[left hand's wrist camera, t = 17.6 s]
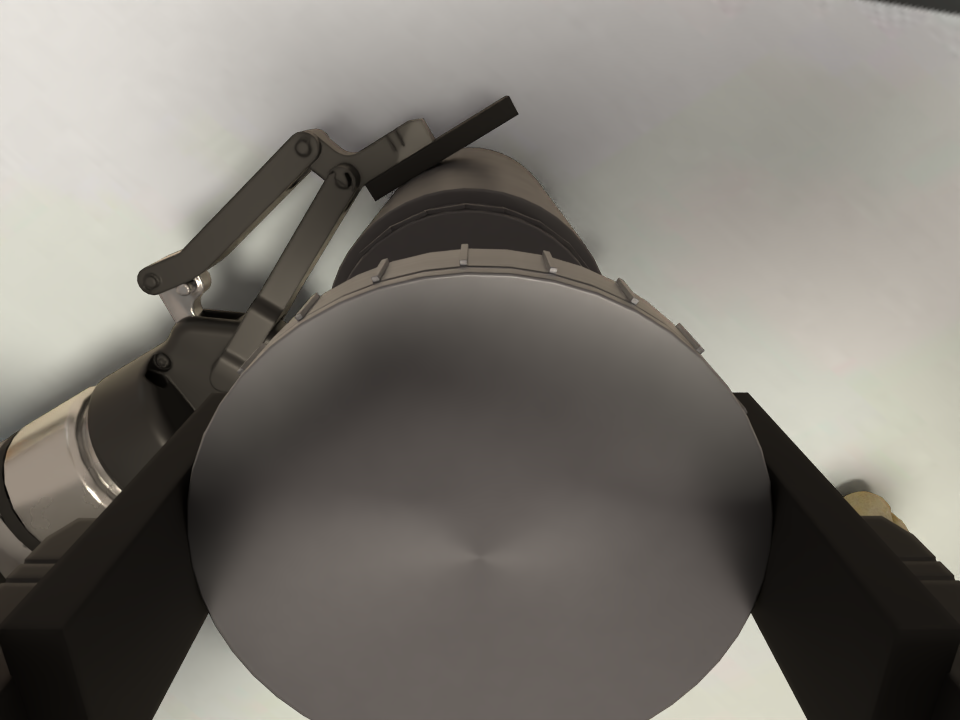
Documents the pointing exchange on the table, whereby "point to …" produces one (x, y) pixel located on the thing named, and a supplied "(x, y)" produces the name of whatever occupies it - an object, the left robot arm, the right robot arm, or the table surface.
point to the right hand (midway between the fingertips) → (565, 207)
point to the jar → (467, 215)
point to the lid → (479, 499)
